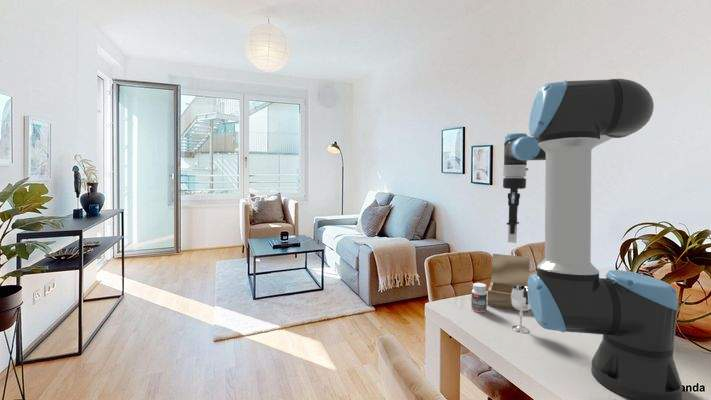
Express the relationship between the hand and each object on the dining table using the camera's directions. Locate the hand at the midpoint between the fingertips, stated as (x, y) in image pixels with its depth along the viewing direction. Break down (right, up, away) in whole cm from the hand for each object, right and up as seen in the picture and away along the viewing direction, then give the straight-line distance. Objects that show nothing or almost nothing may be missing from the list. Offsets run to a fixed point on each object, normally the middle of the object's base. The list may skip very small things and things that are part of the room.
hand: (512, 241), depth 128 cm
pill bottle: (-17, -20, -15) cm, 31 cm away
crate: (-6, -20, -10) cm, 23 cm away
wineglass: (-10, -22, -29) cm, 37 cm away
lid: (-3, -9, -5) cm, 11 cm away
